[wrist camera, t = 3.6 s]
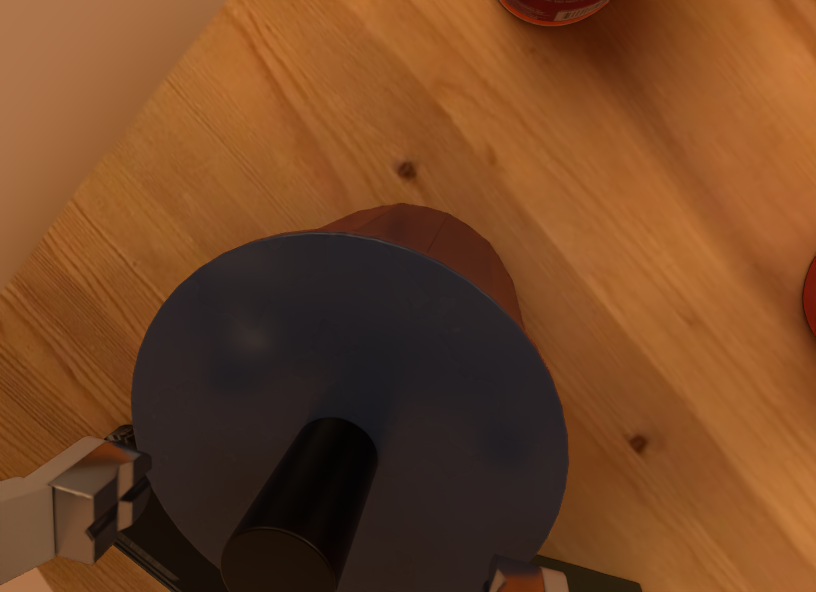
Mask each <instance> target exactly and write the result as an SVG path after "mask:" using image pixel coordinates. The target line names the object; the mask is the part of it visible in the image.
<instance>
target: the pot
mask: <svg viewBox="0 0 816 592" xmlns="http://www.w3.org/2000/svg"><path fill="white" fill-rule="evenodd" d="M319 229H334V230H351V231H357V232H363V233H369V234H376V235H381V236H384V237H387V238H391V239H394V240H397V241H401V242H404V243H407V244H411V245H413V246H415V247H417V248H420V249H422V250H424V251H426V252H429V253H431V254H433V255H435V256H438V257H440V258H442V259H443V260H445V261H447V262H448V263H450V264H452V265H453V266H455V267H457V268H458V269H460V270H461V271H463V272H465V273H466V274H468V275H470V276H471V277H472V278H473V279H475V280H476V281H477V282H478V283H480V284H481V285H482V286H483V287H484V288H486V289H487V290H488V291H489V292H491V293H492V294H493V295H494V296H496V298H497V299H498V300H499V301H500V302H501V303H502V304H503V305H504V306H505V307H506V308H507V309H508V310H509V311H510V312H511V313H512V314H513V315H514V316H515V317H516V319H517V320H518V321H519V322H520V324H521V325H522V327H523V328H524V324H523V320H522V316H521V312H520V308H519V305H518V301H517V297H516V293H515V289H514V285H513V282H512V279H511V277H510V276H509V274H508V273H507V271H506V269H505V267H504V265H503V263H502V262H501V260H500V258H499V257H498V255H497V254H496V253H495V251H494V250H493V248H492V247H491V245H490V243H489V242H488V241H487V240H486V239H484V238H483V237H482V236H481V235H480V234H478V233H477V232H476V231H475V230H473V229H472V228H471V227H470V226H468V225H467V224H465V223H464V222H462V221H460V220H459V219H457V218H455V217H453V216H452V215H451V214H448V213H445V212H442V211H439V210H435V209H432V208H428V207H423V206H417V205H409V204H405V203H399V204H393V205H386V206H380V207H376V208H372V209H366V210H361V211H357V212H355V213H352V214H350V215H348V216H346V217H343V218H341V219H339V220H337V221H335V222H332V223H330V224H328V225H326V226H323V227H321V228H319ZM524 329H525V328H524Z"/></svg>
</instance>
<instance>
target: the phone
mask: <svg viewBox="0 0 816 592" xmlns="http://www.w3.org/2000/svg"><path fill="white" fill-rule="evenodd" d="M104 440H106V441H109V442H110V441H111V442H114V443H117V444H120V445H123V446H126V447H129V448H132V449H136V450H138V449H137V446H136V440H135V435H134V429H133V426H132V425H123V426H120V427H119V428H118V429H116V430H115V431H114V432H112V433H111V434H110V435H108V436H107V437H106V438H105V439H104ZM146 476H147V475H146ZM147 478H148V477H147ZM113 545H114V546H115V547H116V548H118V549H119V550H120V551H121V552H123V553H124V554H125V555H126V556H128V557H129V558H130V559H131V560H133V561H134V562H135V563H136V564H137V565H139V566H140V567H141V568H142V569H144V570H145V571H146V572H147V573H149V574H150V575H151V576H152V577H154V578H155V579H156V580H157V581H159V582H160V583H161V584H162V585H164V586H165V587H166V588H167V589H169V590H170V591H171V592H229V590H228V589H227V587H226V585H225V583H224V581H223V579H222V575H221V570H220V569H218V568H217V567H216V566H215V565H214V564H213V563H212V562H210V561H209V560H208V559H207V558H206V557H205V556H204V555H202V554H201V553H200V552H199V551H198V550H197V549H196V548H195V547H194V546H193V544H192V543H191V542H190V541H189V540H188V539H187V538H186V537H185V536H184V535H183V534H182V532H181V531H180V530H179V529H178V527H177V526H176V525H175V523H174V522H173V521H172V519H171V518H170V517H169V515H168V514H167V512H166V511H165V509H164V507H163V506H162V504H161V502H160V501H159V499H158V497H157V496H156V494H155V492H154V490H153V488H152V486H151V494H150V497H149V501H148V503H147V505H146V507H145V509H144V510H143V512H142V514H141V516H140V517H139V518H138V519H137V520H136V521H135V522H134V523H133V524H132V525H131V526H129V527H127V528H124V529H122V530H120V531H117V538H116V542H115V543H114V544H113Z"/></svg>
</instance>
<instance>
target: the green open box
mask: <svg viewBox="0 0 816 592" xmlns="http://www.w3.org/2000/svg"><path fill="white" fill-rule="evenodd" d="M529 564H533V565H537V566H539V567H540V566H541V567H544V568H548V569H552V570H555V571H559V572H563V573H564V575H565V576H566V579H567V584H568V589H569V592H642V589H641V587H640V584H638V583H635V582H631V581H628V580H624V579H621V578H617V577H614V576H610V575H606V574H603V573H599V572H596V571H592V570H589V569H585V568H581V567H578V566H574V565H571V564H567V563H564V562H560V561H556V560H553V559H549V558H546V557H542V556H539V555H535V556H534V558H533V559H532V560H531V561H530V562H529Z"/></svg>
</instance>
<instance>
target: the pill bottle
mask: <svg viewBox="0 0 816 592" xmlns="http://www.w3.org/2000/svg"><path fill="white" fill-rule="evenodd" d="M499 1H500V2H501V4H502V5H503V6H504V7H505V8H506V9H507V10H508V11H510V12H511V13H512V14H513V15H515V16H517V17H518V18H520V19H522V20H524V21H526V22H529V23H532V24H536V25H541V26H561V25H567V24H571V23H574V22H577V21H580V20H582V19H584V18H586V17H588V16H590V15H592V14H593V13H595V12H597V11H598V10H599V9H601V8H602V7H603V6H605V5H606V4H607V3H608V2H609V1H610V0H499Z"/></svg>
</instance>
